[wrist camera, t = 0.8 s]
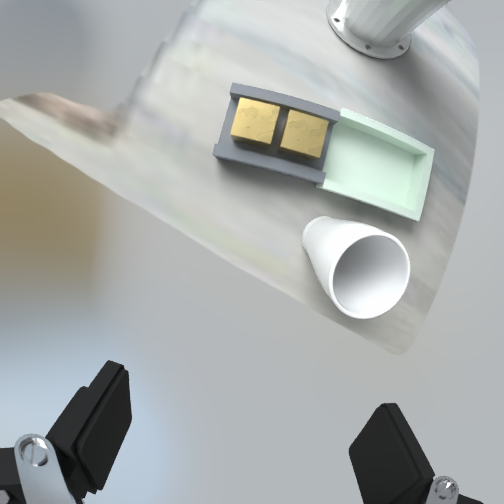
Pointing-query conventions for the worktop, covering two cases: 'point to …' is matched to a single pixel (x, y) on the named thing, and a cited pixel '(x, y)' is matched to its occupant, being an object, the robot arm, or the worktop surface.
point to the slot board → (274, 135)
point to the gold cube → (254, 123)
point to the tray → (377, 165)
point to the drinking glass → (357, 265)
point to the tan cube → (302, 135)
